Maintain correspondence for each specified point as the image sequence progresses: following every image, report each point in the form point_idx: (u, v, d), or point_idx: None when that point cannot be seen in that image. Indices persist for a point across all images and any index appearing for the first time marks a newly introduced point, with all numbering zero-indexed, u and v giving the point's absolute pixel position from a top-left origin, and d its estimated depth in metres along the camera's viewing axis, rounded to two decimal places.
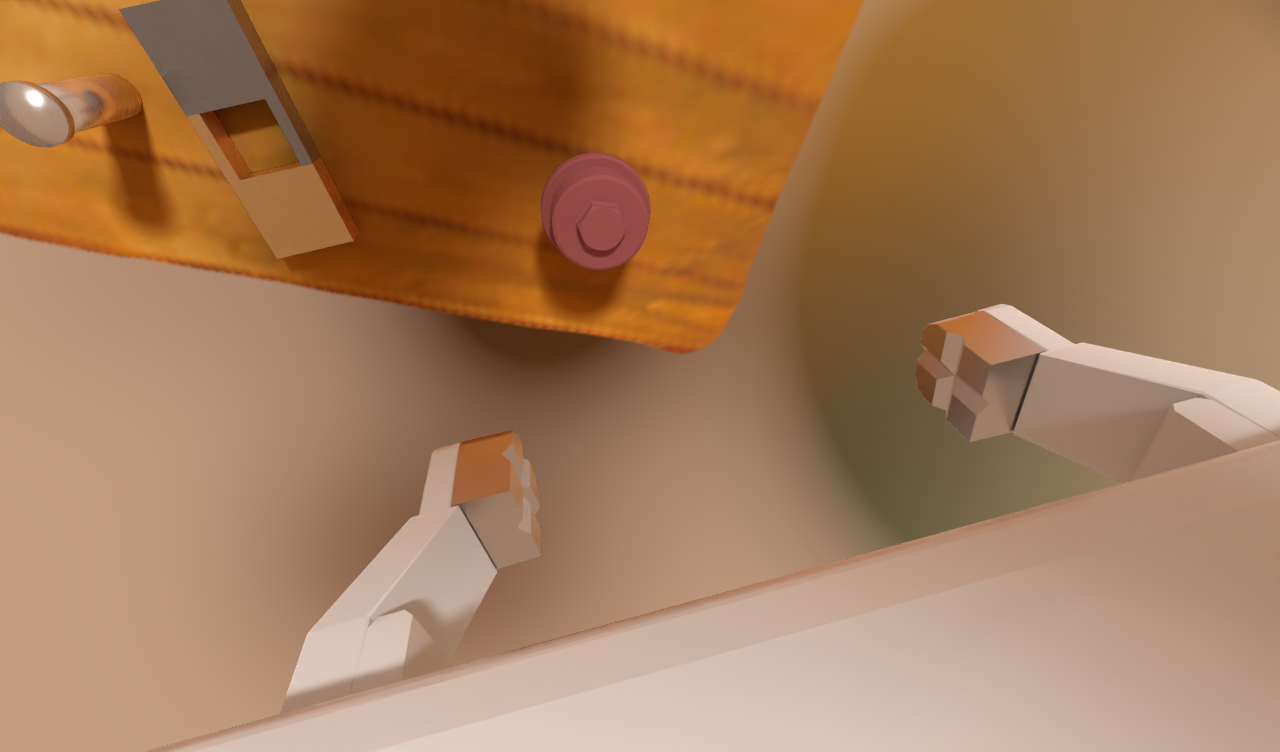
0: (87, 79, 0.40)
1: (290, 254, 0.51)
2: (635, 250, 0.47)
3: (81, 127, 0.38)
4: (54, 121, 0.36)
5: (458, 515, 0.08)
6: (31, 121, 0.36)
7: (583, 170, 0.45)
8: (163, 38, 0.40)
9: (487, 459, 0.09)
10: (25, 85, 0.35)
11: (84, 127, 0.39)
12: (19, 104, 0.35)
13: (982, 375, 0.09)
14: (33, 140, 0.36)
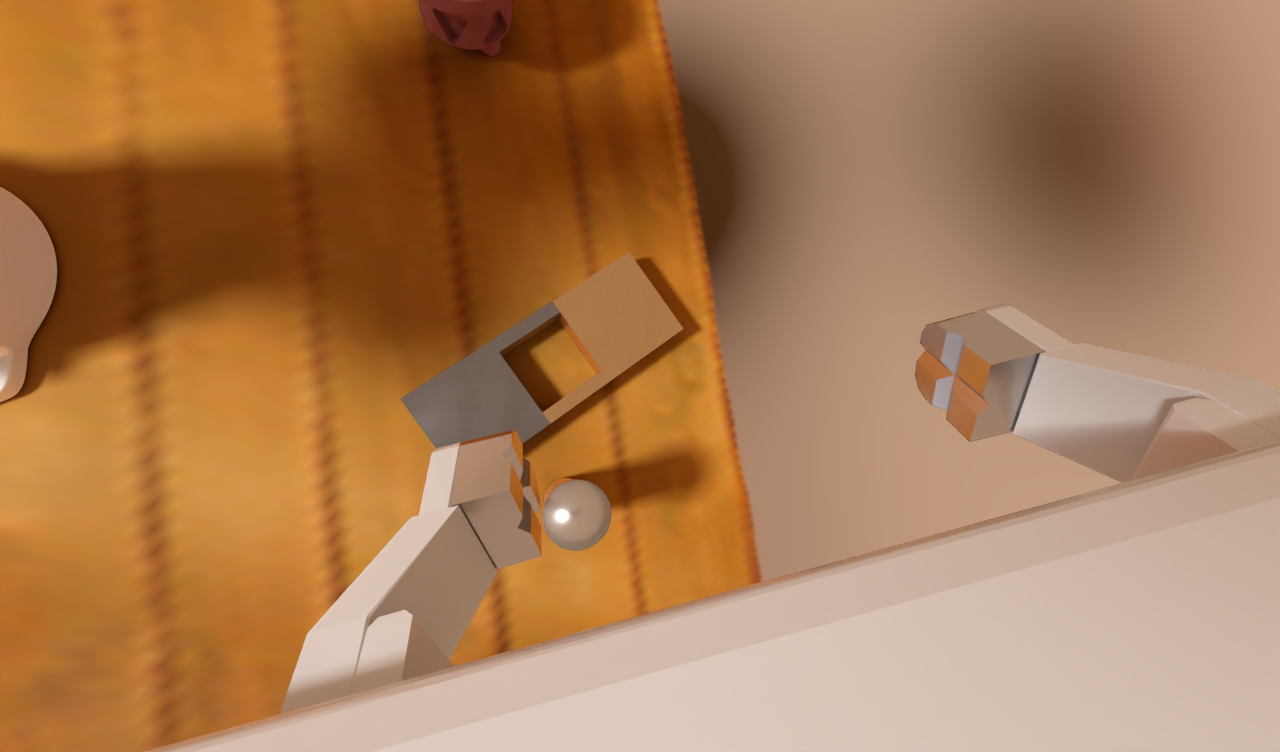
0: None
1: (672, 315, 0.42)
2: None
3: None
4: (573, 491, 0.31)
5: (458, 515, 0.08)
6: (583, 512, 0.31)
7: None
8: None
9: (487, 459, 0.09)
10: (543, 516, 0.30)
11: None
12: (567, 522, 0.31)
13: (982, 375, 0.09)
14: (605, 511, 0.31)
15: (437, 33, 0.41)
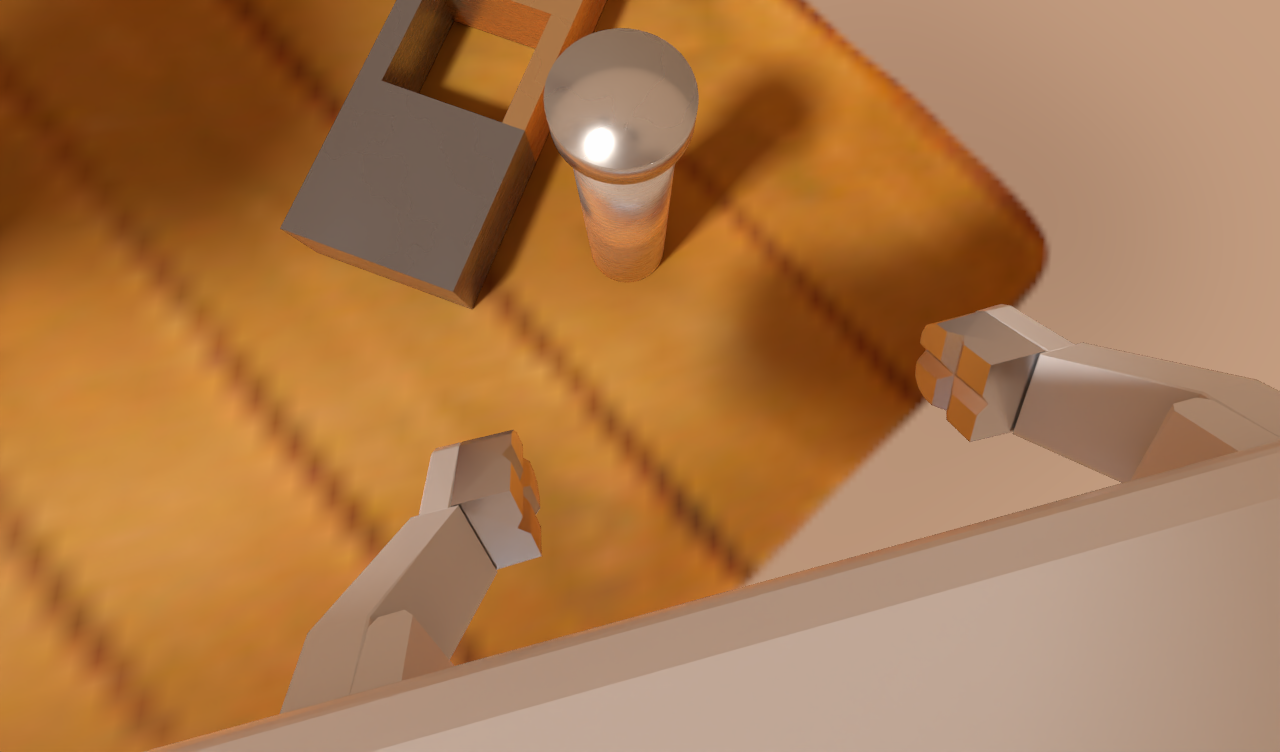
0: (592, 236, 0.20)
1: None
2: None
3: None
4: (585, 61, 0.14)
5: (458, 515, 0.08)
6: (628, 86, 0.14)
7: None
8: (434, 227, 0.21)
9: (487, 459, 0.09)
10: (557, 136, 0.13)
11: None
12: (612, 119, 0.14)
13: (982, 375, 0.09)
14: (670, 61, 0.14)
15: None
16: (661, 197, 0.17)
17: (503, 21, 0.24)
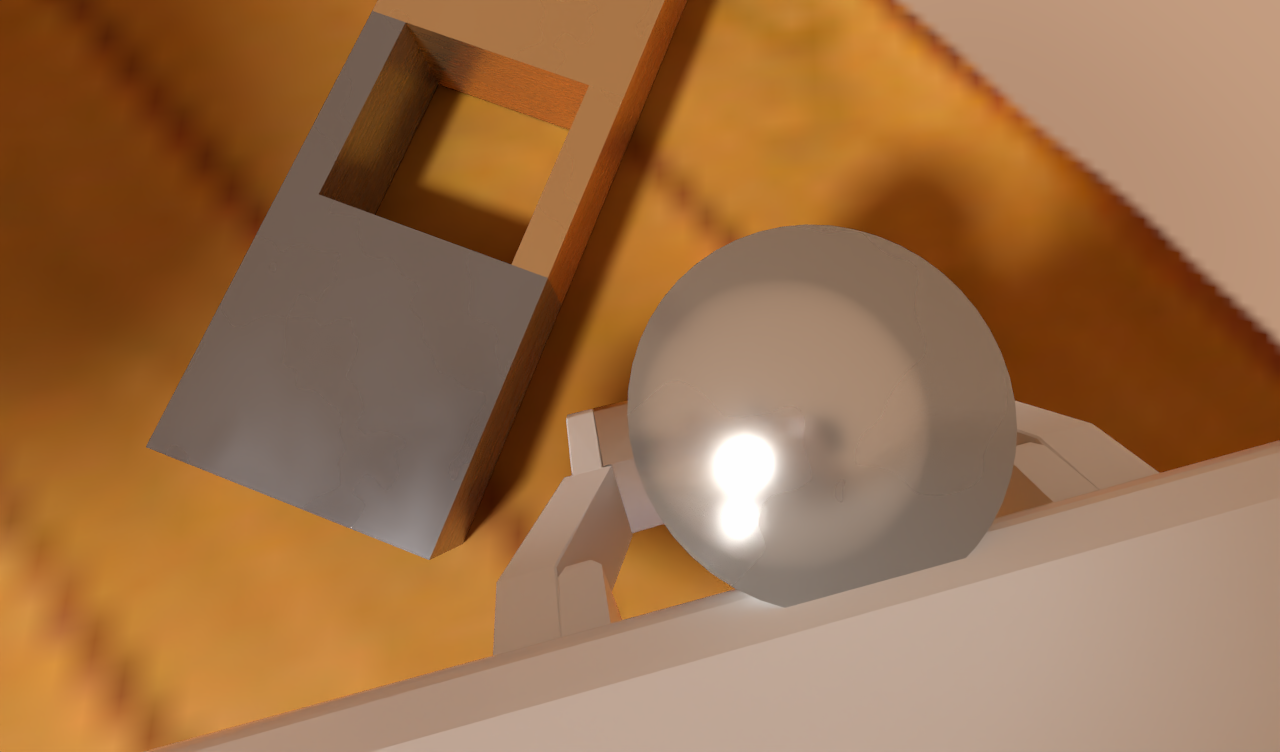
0: None
1: None
2: None
3: None
4: (728, 313, 0.06)
5: (610, 475, 0.08)
6: (839, 380, 0.05)
7: None
8: (400, 445, 0.13)
9: (627, 423, 0.09)
10: (664, 518, 0.05)
11: None
12: (802, 472, 0.05)
13: None
14: (937, 311, 0.06)
15: None
16: None
17: (512, 89, 0.16)
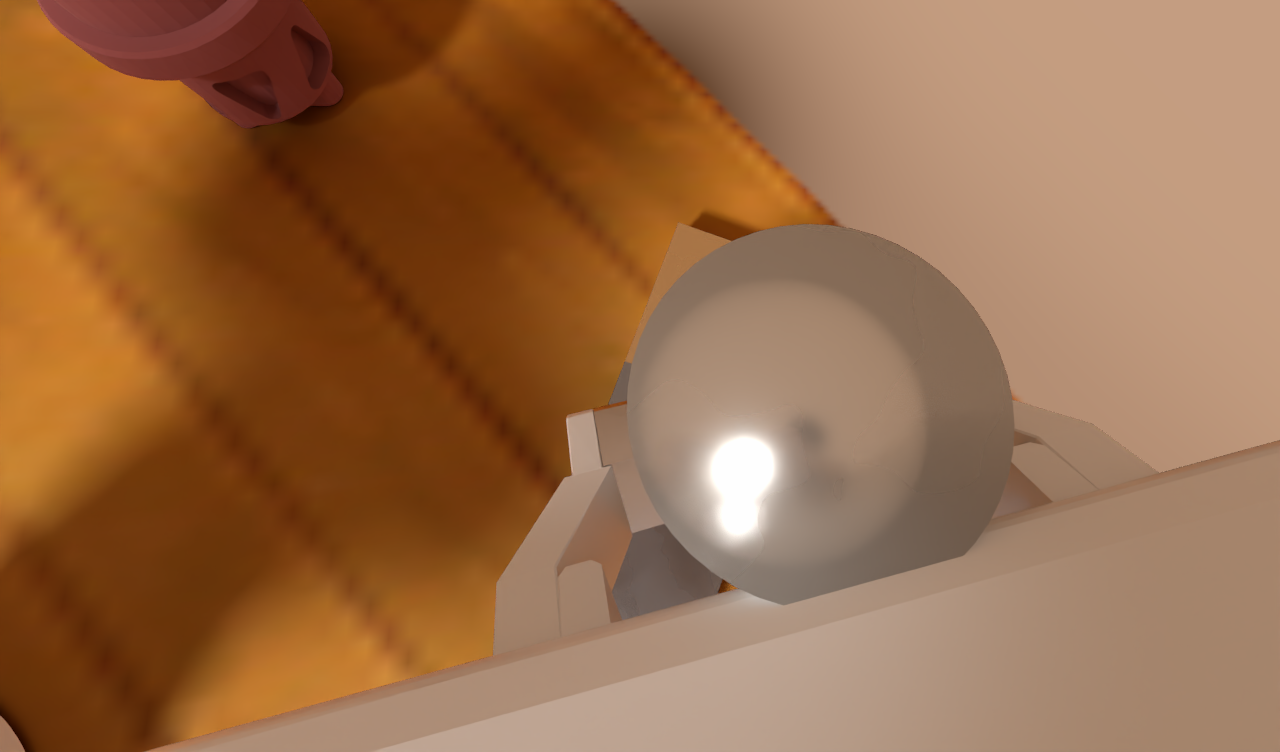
0: None
1: None
2: None
3: None
4: (728, 312, 0.06)
5: (611, 475, 0.08)
6: (838, 379, 0.06)
7: (89, 18, 0.20)
8: None
9: (627, 423, 0.09)
10: (663, 516, 0.05)
11: None
12: (802, 471, 0.05)
13: None
14: (935, 311, 0.06)
15: (249, 119, 0.27)
16: None
17: None
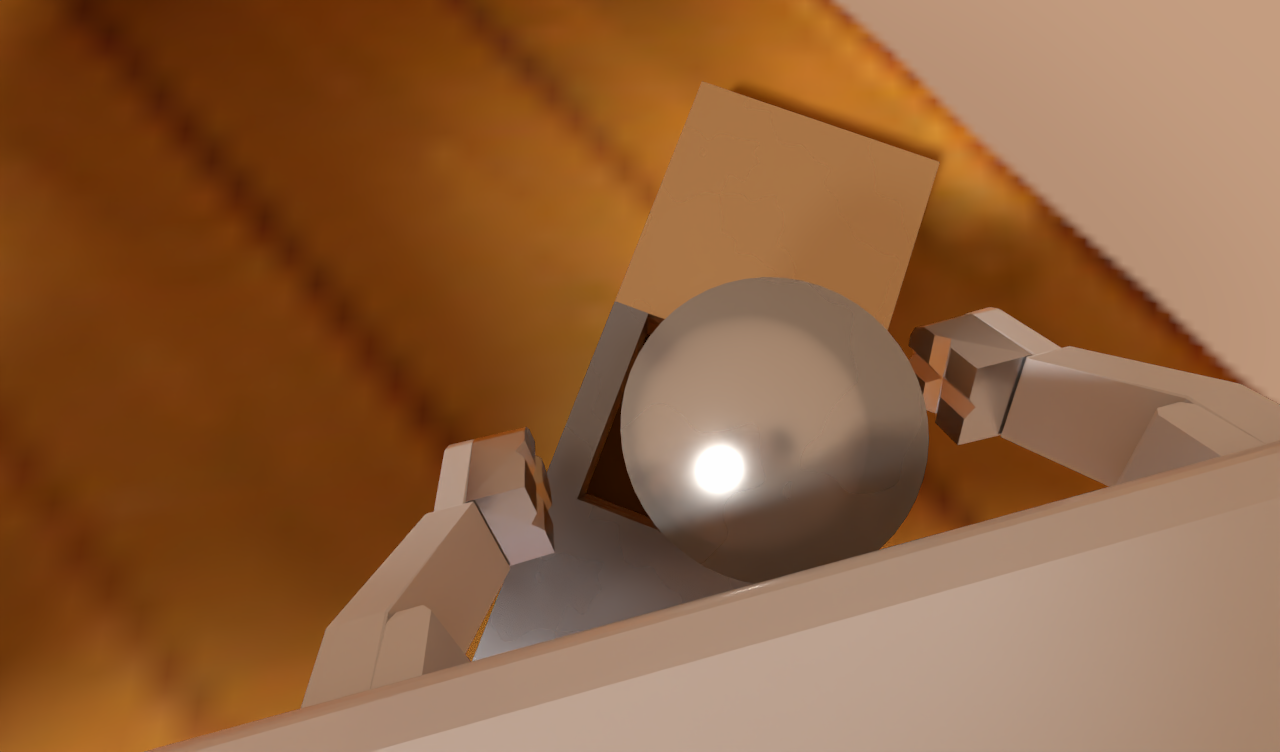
0: None
1: (893, 150, 0.15)
2: None
3: None
4: (701, 348, 0.07)
5: (473, 511, 0.08)
6: (788, 402, 0.07)
7: None
8: None
9: (501, 455, 0.09)
10: (649, 511, 0.07)
11: None
12: (758, 475, 0.07)
13: (969, 378, 0.09)
14: (867, 347, 0.07)
15: None
16: None
17: None
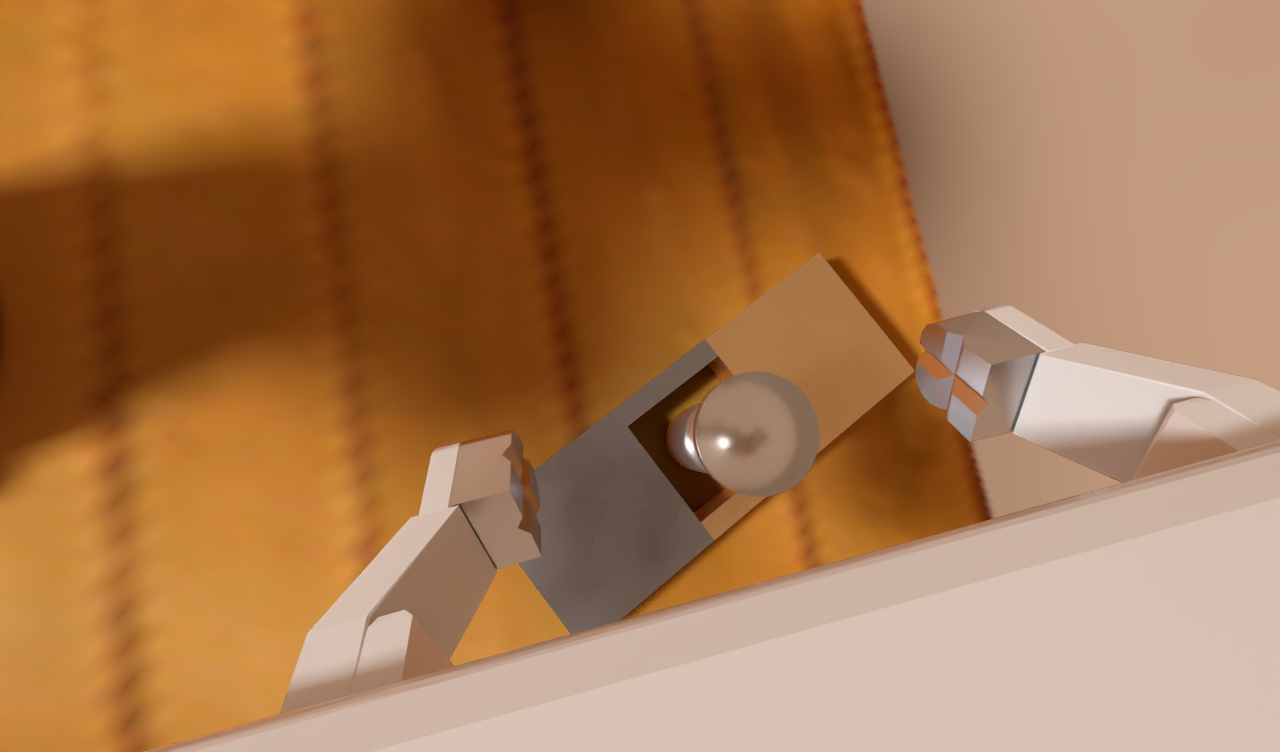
0: (677, 441, 0.23)
1: (895, 350, 0.26)
2: None
3: None
4: (750, 391, 0.17)
5: (458, 515, 0.08)
6: (768, 428, 0.17)
7: None
8: (599, 585, 0.23)
9: (487, 459, 0.09)
10: (698, 435, 0.17)
11: None
12: (743, 446, 0.17)
13: (982, 375, 0.09)
14: (808, 426, 0.17)
15: None
16: None
17: None
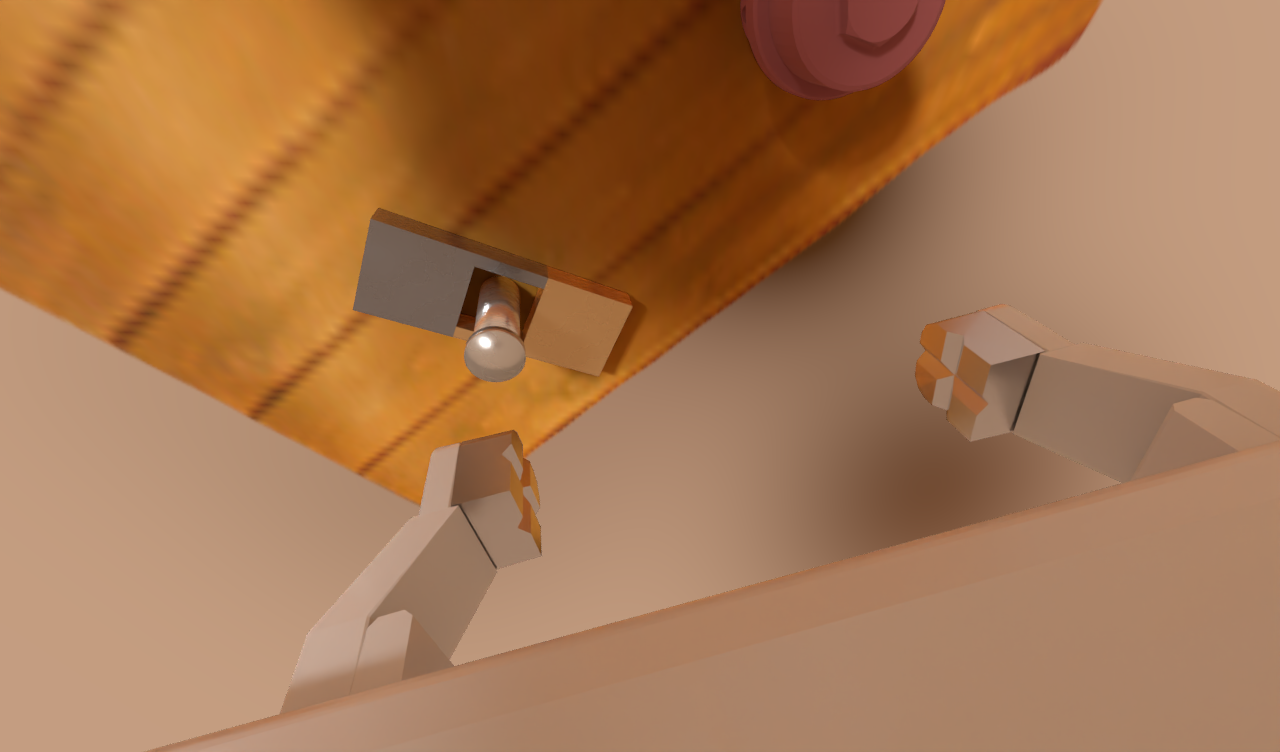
0: (483, 298, 0.40)
1: (603, 363, 0.46)
2: None
3: (518, 334, 0.38)
4: (509, 345, 0.35)
5: (458, 515, 0.08)
6: (500, 360, 0.36)
7: None
8: (388, 299, 0.40)
9: (487, 459, 0.09)
10: (476, 337, 0.34)
11: (519, 333, 0.38)
12: (484, 355, 0.35)
13: (982, 375, 0.09)
14: (512, 372, 0.36)
15: None
16: None
17: (532, 311, 0.44)
